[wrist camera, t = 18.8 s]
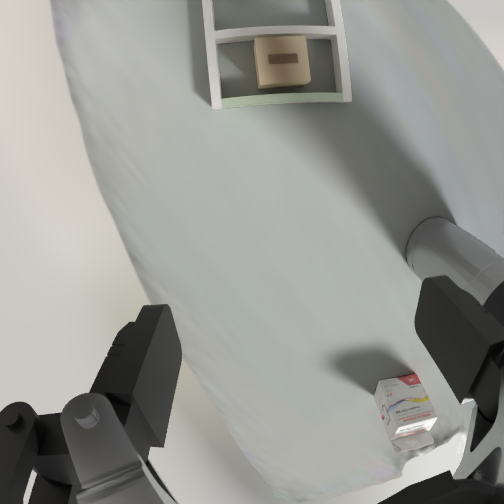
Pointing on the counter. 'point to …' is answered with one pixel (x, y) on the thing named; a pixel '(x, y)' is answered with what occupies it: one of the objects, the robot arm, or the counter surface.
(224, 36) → the divider frame
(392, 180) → the counter surface
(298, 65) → the beech letter block
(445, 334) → the robot arm
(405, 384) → the ink cartridge box
